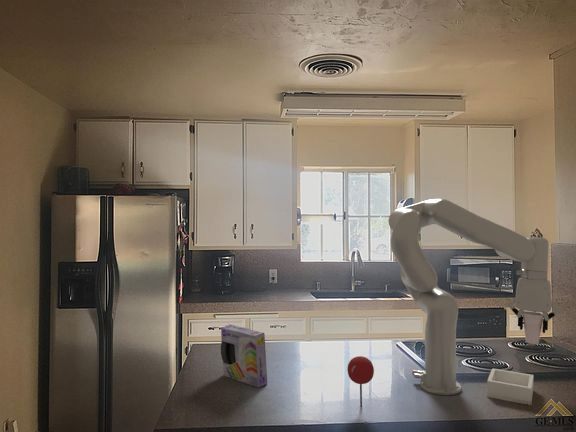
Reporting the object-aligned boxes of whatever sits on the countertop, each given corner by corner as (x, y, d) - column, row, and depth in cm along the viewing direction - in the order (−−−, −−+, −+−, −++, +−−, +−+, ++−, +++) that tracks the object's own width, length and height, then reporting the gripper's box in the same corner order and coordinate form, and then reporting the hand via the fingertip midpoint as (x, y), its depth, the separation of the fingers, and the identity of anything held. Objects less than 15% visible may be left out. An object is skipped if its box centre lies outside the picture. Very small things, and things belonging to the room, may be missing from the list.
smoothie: (546, 346, 144) (547, 302, 143) (524, 344, 145) (525, 301, 145) (539, 340, 150) (540, 298, 150) (518, 338, 151) (519, 297, 151)
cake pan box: (220, 375, 160) (219, 325, 160) (231, 371, 164) (230, 322, 163) (257, 389, 147) (256, 335, 147) (268, 385, 151) (267, 332, 150)
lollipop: (347, 401, 138) (347, 352, 137) (373, 402, 137) (372, 353, 136) (348, 413, 130) (347, 361, 130) (375, 414, 129) (374, 362, 129)
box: (487, 396, 140) (487, 380, 140) (492, 383, 150) (492, 368, 150) (531, 405, 133) (531, 388, 133) (533, 390, 144) (533, 375, 144)
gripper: (503, 274, 148) (502, 329, 149) (565, 279, 139) (563, 337, 140) (506, 271, 155) (504, 324, 155) (565, 276, 146) (563, 332, 146)
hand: (532, 330), depth 147 cm, fingers closed on smoothie, 5 cm apart
